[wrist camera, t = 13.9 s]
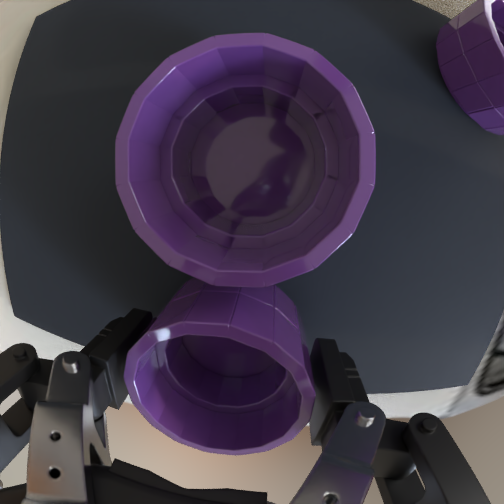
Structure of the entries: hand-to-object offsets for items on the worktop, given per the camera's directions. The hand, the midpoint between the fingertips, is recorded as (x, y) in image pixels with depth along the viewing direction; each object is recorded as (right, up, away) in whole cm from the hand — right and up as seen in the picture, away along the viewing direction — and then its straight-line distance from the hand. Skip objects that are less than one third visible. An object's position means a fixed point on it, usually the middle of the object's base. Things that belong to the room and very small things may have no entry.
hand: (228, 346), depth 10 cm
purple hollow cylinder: (+12, +12, -3) cm, 17 cm away
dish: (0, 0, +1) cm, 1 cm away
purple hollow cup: (+1, +7, -1) cm, 7 cm away
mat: (+1, +7, 0) cm, 7 cm away
